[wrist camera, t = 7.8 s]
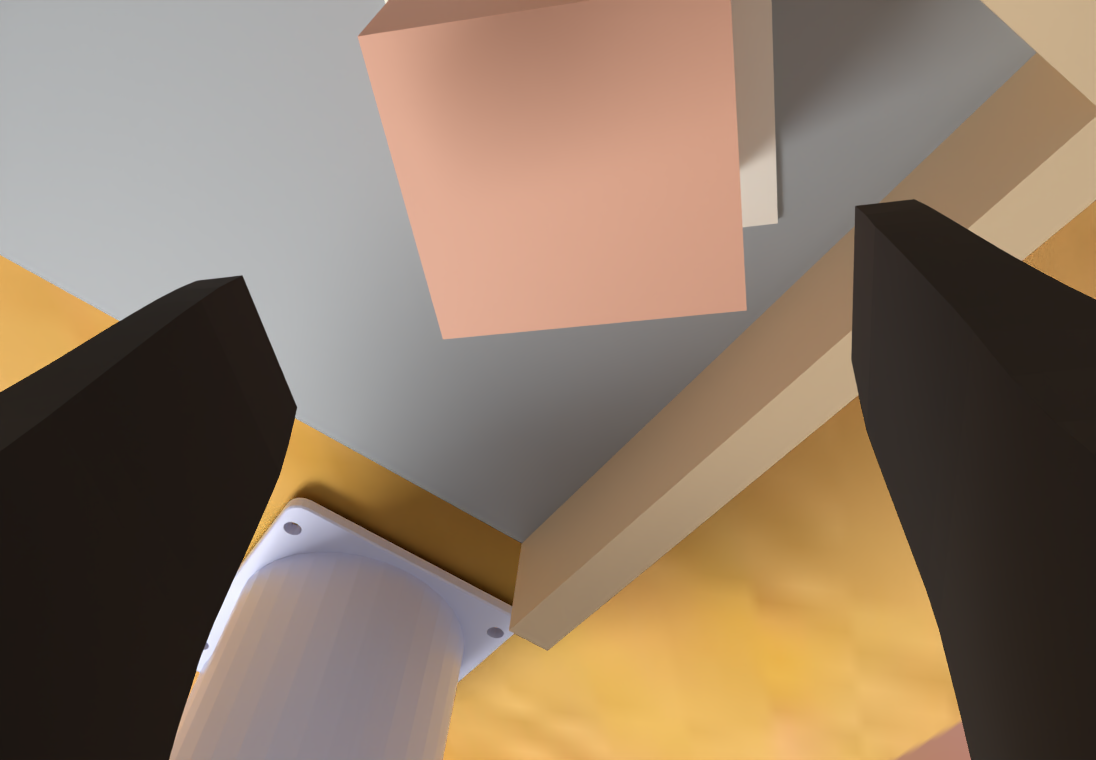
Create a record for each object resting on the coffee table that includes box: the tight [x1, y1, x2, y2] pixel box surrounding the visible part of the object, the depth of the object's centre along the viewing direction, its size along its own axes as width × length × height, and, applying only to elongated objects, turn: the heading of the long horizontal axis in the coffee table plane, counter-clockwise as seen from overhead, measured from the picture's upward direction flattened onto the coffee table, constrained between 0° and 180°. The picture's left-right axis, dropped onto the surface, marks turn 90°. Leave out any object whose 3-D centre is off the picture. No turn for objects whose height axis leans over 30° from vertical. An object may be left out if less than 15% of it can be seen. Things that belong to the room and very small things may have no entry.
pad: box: [384, 0, 778, 227], centre depth 18 cm, size 7×7×1 cm
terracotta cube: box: [358, 0, 747, 339], centre depth 16 cm, size 5×5×5 cm
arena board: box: [0, 0, 1096, 651], centre depth 17 cm, size 18×24×4 cm
